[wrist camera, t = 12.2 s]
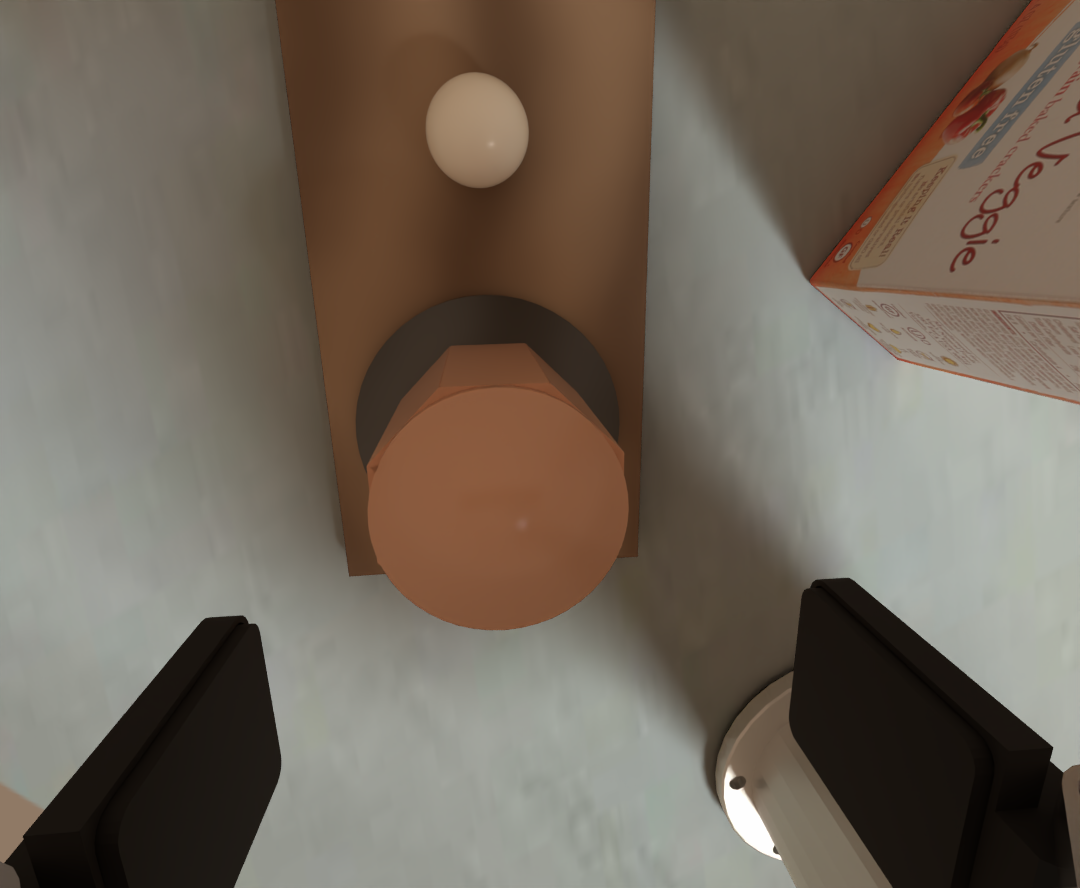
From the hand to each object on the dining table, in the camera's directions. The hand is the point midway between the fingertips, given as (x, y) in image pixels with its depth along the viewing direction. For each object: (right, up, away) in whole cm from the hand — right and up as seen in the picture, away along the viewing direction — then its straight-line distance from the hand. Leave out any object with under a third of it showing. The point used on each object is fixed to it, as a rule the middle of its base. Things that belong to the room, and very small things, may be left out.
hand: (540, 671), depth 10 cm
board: (-2, +10, +13) cm, 16 cm away
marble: (-2, +14, +10) cm, 17 cm away
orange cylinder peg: (-2, +4, +13) cm, 13 cm away
